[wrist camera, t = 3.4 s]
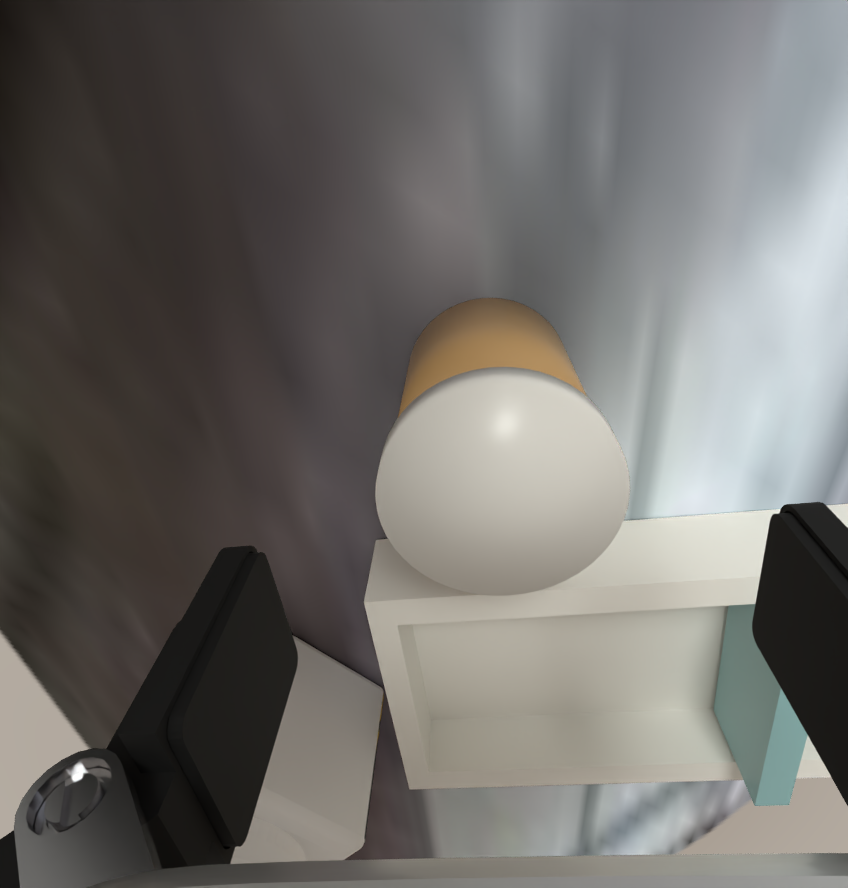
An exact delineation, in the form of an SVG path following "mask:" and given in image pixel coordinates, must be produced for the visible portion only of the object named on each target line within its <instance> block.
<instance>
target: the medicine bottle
mask: <svg viewBox="0 0 848 888" xmlns="http://www.w3.org/2000/svg"><path fill="white" fill-rule="evenodd" d="M292 636H293V635H292ZM293 639H294V642H295V645H296V648H297V652H298V665H297V670H296V673H295V677H294V680H293V683H292V687H291V690H290V693H289V697H288V700H287V704H286V707H285V710H284V714H283V717H282V720H281V724H280V727H279V731H278V734H277V737H276V741H275V744H274V747H273V751H272V754H271V758H270V761H269V764H268V768H267V771H266V774H265V778H264V781H263V785H262V788H261V791H260V795H259V798H258V801H257V805H256V808H255V812H254V815H253V818H252V822H251V825H250V828H249V832H248V835H247V838H246V840H245V842H244V844H243V845H242V846H241V847H235V850H234V853H233V856H232V859H231V863H230V864H242V863H267V862H292V861H332V860H344V859H346V858H347V857H349V856H350V855H352V854H353V853H355V852H356V851H358V850H359V849H361V848H362V847H363V845H364V842H365V837H366V829H367V821H368V814H369V806H370V798H371V791H372V783H373V775H374V767H375V760H376V752H377V744H378V737H379V729H380V721H381V714H382V706H383V698H384V693H383V689H382V688H381V687H380V686H378V685H376V684H375V683H373V682H371V681H370V680H368V679H366V678H365V677H363V676H361V675H360V674H358V673H356V672H354V671H353V670H351V669H349V668H348V667H346V666H344V665H343V664H341V663H339V662H337V661H336V660H334V659H332V658H331V657H329V656H327V655H326V654H324V653H322V652H321V651H319V650H317V649H315V648H314V647H312V646H310V645H309V644H307V643H305V642H304V641H302V640H300V639H299V638H297V637H295V636H293Z"/></svg>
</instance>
